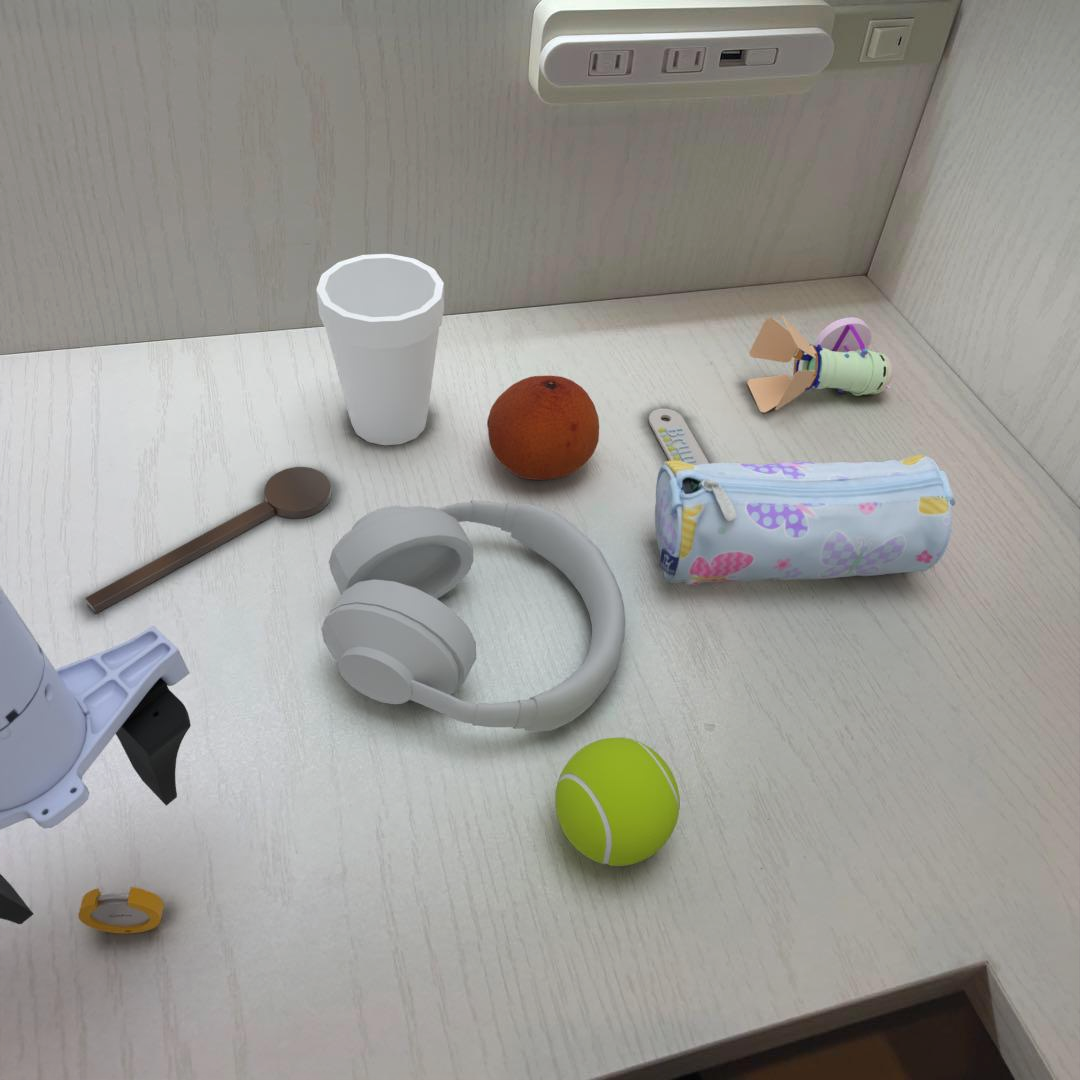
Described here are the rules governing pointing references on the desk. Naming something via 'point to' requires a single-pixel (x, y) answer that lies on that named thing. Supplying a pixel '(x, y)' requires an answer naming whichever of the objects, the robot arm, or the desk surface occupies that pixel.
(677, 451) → the keychain
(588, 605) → the headphones
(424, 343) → the foam cup
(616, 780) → the tennis ball
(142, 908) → the tracker
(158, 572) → the spoon
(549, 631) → the desk surface
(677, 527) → the pencil case
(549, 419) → the fruit
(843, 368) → the spotlight
